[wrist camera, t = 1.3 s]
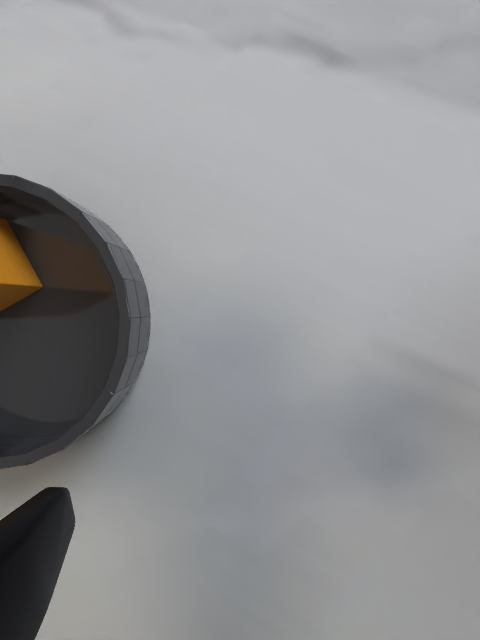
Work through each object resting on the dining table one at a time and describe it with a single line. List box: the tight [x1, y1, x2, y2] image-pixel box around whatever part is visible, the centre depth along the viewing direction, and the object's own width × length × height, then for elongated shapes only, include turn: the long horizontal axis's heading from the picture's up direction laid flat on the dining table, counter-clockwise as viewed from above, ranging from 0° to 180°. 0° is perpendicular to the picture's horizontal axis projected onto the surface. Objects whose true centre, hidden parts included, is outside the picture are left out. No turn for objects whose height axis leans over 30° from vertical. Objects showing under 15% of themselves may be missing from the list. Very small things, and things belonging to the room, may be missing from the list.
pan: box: [0, 174, 150, 469], centre depth 23 cm, size 15×15×4 cm
